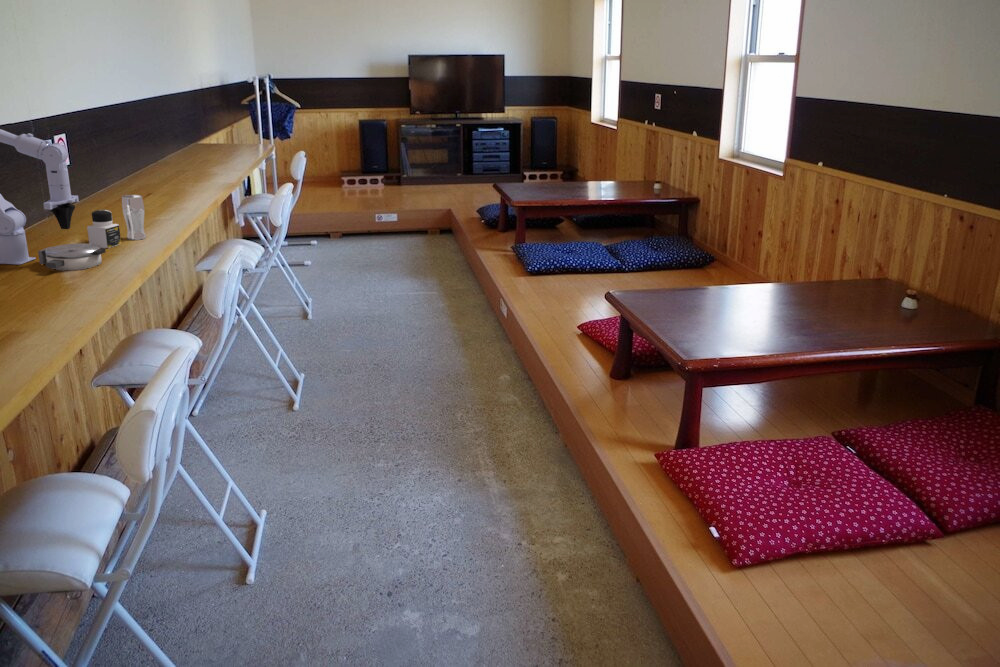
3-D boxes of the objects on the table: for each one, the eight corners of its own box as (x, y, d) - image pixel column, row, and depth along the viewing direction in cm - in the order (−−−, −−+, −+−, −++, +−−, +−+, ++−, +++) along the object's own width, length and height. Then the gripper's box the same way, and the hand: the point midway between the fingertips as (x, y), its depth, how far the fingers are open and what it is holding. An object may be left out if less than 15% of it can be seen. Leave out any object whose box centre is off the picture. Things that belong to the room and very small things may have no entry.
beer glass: (121, 238, 279) (116, 196, 274) (136, 235, 285) (132, 193, 280) (136, 241, 277) (131, 198, 272) (151, 237, 283) (147, 195, 278)
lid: (33, 257, 237) (32, 253, 237) (63, 246, 252) (62, 242, 251) (88, 259, 236) (87, 255, 236) (115, 248, 250) (114, 244, 250)
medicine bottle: (108, 248, 265) (103, 213, 261) (89, 247, 266) (84, 211, 262) (121, 244, 272) (117, 209, 268) (103, 242, 273) (99, 208, 269)
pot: (22, 271, 235) (19, 257, 233) (68, 253, 257) (66, 241, 255) (76, 275, 234) (74, 261, 232) (118, 257, 255) (116, 244, 254)
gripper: (57, 189, 233) (63, 234, 238) (85, 181, 247) (91, 224, 251) (34, 187, 234) (41, 232, 238) (63, 180, 247) (70, 223, 252)
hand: (65, 228), depth 245 cm, fingers closed
